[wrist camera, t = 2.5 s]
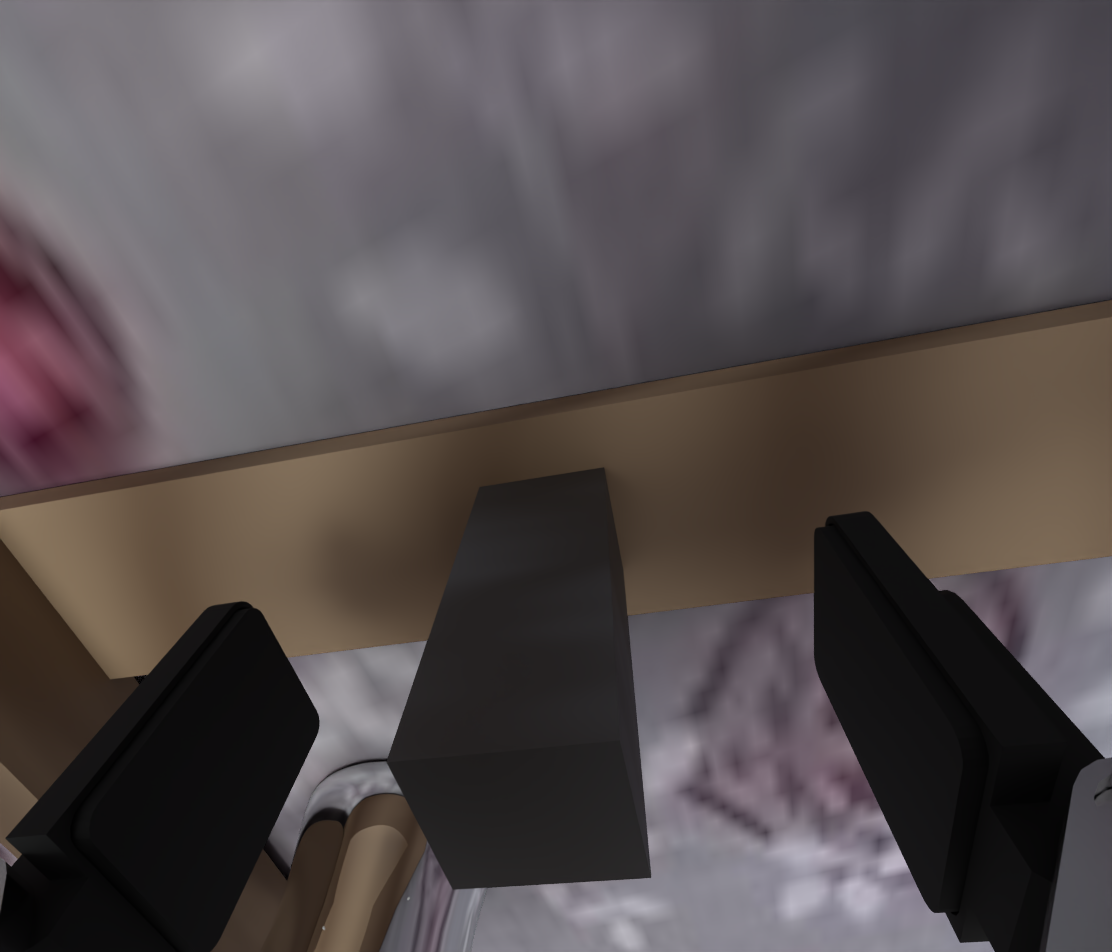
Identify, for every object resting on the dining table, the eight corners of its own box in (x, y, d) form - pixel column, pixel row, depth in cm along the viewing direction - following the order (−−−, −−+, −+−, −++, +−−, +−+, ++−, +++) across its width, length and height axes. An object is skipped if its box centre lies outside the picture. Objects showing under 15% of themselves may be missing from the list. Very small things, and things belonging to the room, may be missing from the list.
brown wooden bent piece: (1219, 280, 10) (2231, 460, 4) (1036, 863, 18) (1266, 1219, 12) (-61, 508, 13) (-592, 787, 7) (265, 908, 21) (139, 1199, 15)
